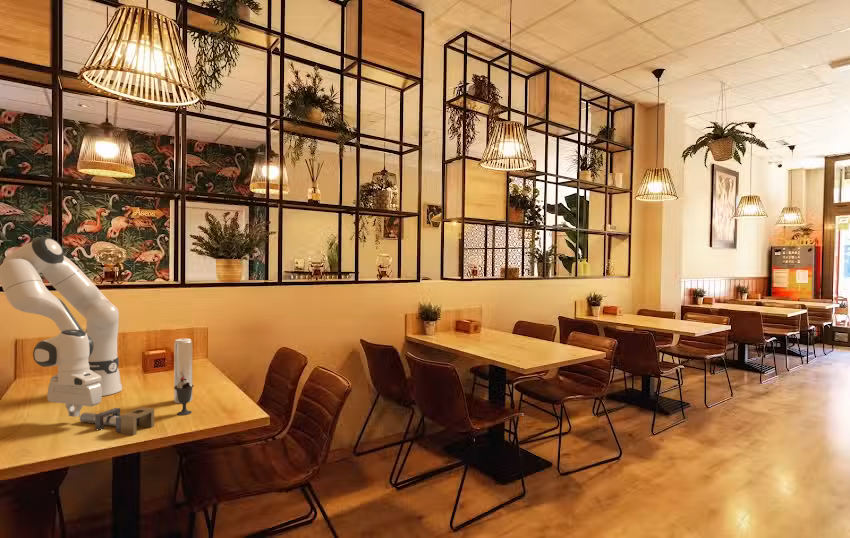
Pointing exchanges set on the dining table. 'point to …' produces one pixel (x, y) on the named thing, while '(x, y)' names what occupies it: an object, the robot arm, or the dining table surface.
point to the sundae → (184, 394)
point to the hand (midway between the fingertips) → (74, 416)
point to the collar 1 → (100, 416)
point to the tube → (91, 419)
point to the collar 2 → (118, 423)
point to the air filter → (182, 363)
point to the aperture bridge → (130, 420)
